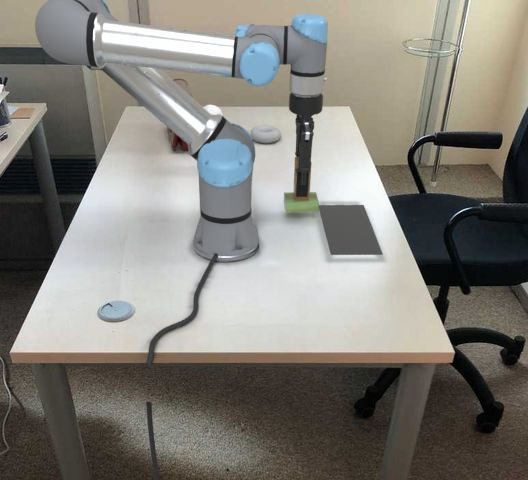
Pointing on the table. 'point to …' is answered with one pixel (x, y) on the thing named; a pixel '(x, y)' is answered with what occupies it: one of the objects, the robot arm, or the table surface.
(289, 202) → the scrub brush
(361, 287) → the table surface
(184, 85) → the handbag
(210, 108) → the white rounded ball
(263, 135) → the donut
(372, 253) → the slate
